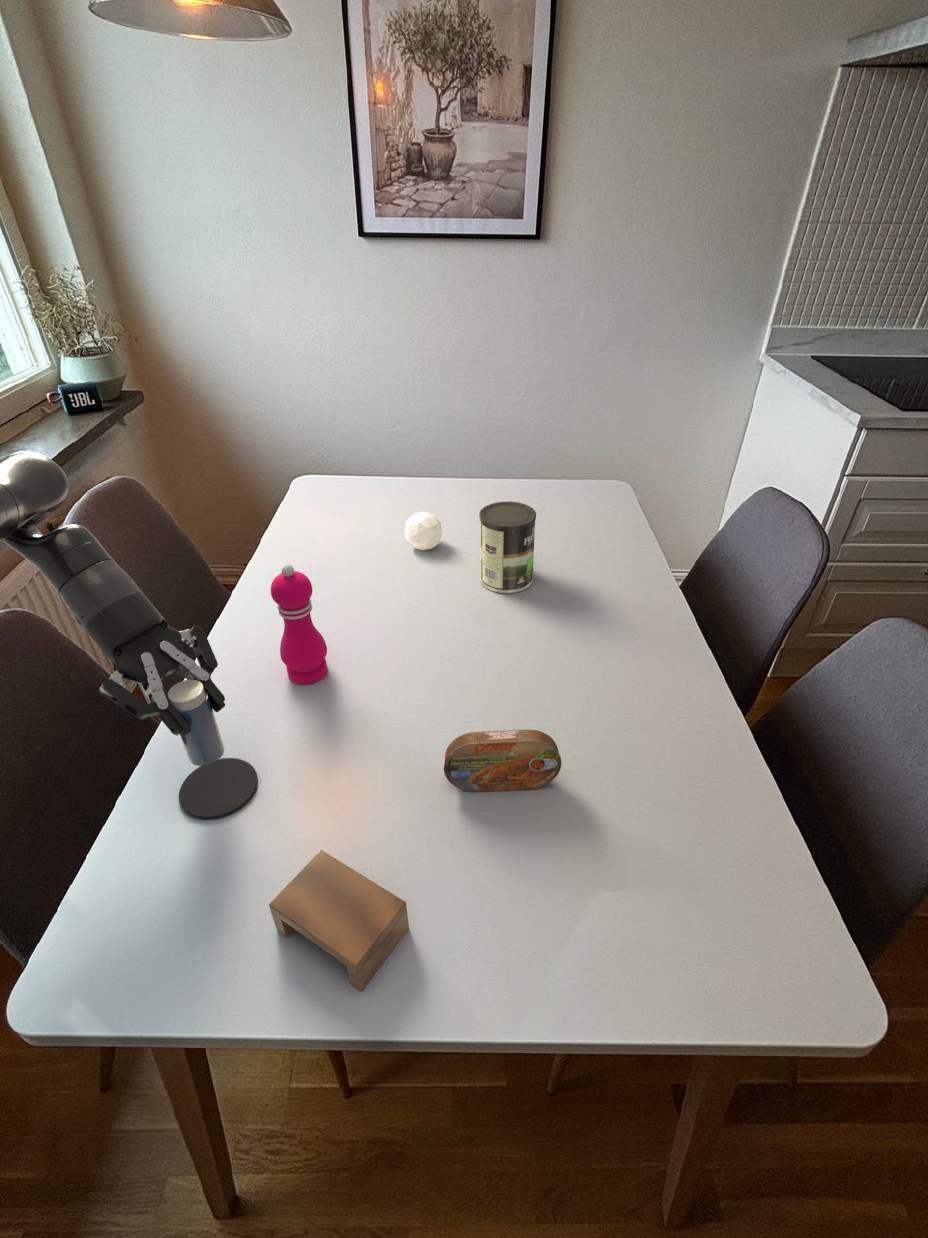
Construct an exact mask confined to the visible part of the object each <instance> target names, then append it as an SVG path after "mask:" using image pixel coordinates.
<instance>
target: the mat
mask: <svg viewBox="0 0 928 1238" xmlns="http://www.w3.org/2000/svg"><path fill="white" fill-rule="evenodd" d="M258 786H259V778H258V773H257V771H256V768H255V767H254V766H253V765H252V764H250V763H249V762H248V761H247V760H243V759H240V758H236V757H225V758H224V757H223V758H220V759H218V760H217V761H216V762H214V763H212V764H209V765H205V766H198V767H197V768H196V769H194V770H193V771H192V772H191V773H190V774H188V775H187V777H185V779H184V780H183V781H182V784H181V785H180V788H179V792H178V801H179V805H180V806H181V809H182V810H183V811H184V812H185V814H187V815H189V816H190V817H192V818H193V819H197V820H203V821H211V820H218V819H222V818H226V817H228V816H231V815H232V814H234V813H237V812H239V810H241V809H243V808H244V807H245V806H246V805H248V803H250V801H251V800H252V799H253V797H254V796H255V794H256V792H257V789H258Z"/></svg>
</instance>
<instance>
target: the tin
mask: <svg viewBox="0 0 928 1238" xmlns="http://www.w3.org/2000/svg"><path fill="white" fill-rule="evenodd" d="M561 769H562V757H561V754H560V751H559V748H558V745H557V743H556V741H555V740H554V739H553V738H552V737H551V736H550V735H549V734H547V733H545V732H543V731H540V730H539V729H538V730H537V729H513V730H512V729H511V730H510V729H509V730H494V731H493V730H492V731H490V730H489V731H473V732H468V733H464V734H462V735H459V736H457V737H456V738H455V739H453V740H452V741H451V742H450V743H449V744H448V746H447V748H446V750H445V753H444V763H443V773H444V776H445V778H446V779H447V781H448V782H449V783H450V784H451V785H452V786H453V787H455V788H457V789H459V790H462V791H464V792H471V793H481V792H499V791H520V790H521V791H523V790H535V789H539V788H542V787H545V786H546V785H548V784H550V783H551V782H552V781H554V780H555V778H556V777H557V776H558V775H559V773H560V772H561Z"/></svg>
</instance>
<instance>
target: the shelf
mask: <svg viewBox="0 0 928 1238" xmlns="http://www.w3.org/2000/svg"><path fill="white" fill-rule="evenodd" d="M268 908H269V910H270V913H271V917H272V919H273V923H274V926H275V929H276V931H277V932H278V933H279V934H281V935H282V936H283V937H285V938H288V937H289V936H290V935H291V933H292V932H293V931H294V930H295V931H296V932H299V933H300V934H301V935H302V936H304V937H305V938H307V939H308V940H309V941H311V942H312V943H313V944H315V945H317V946H318V947H319V948H321V949H322V950H324V951H325V952H326V953H328V954H329V955H331V956H332V957H333V958H335V959H336V960H338V961H339V962H341V963H342V964H343V965H344V966H346V970H347V973H348V978H349V982H350V985H352V986H353V987H354V988H356V989H357V990H359V992H363V991H364V989H365V988H366V987H367V985H368V983H370V981H371V980H372V978H373V977H374V976H375V974H376V973H377V972H378V971H379V969H380V968H381V966H382V965H383V964H384V962H385V961H386V960H387V958H388V957H389V956H390V954H391V953H392V952H393V951H394V949H395V948H396V947H397V945H398V944H399V942H400V941H401V940H402V939H403V937H404V936H405V935H406V934H407V932H408V931H409V929H410V924H409V917H408V907H407V901H405V900H403V899H402V898H400V897H398V896H397V895H395V894H394V893H392V892H390V891H389V890H388V889H385V888H384V887H382V886H381V885H379V884H377V883H376V882H374V881H373V880H371V879H369V878H368V877H367V876H364V875H363V874H362V873H360V872H358V871H357V870H355V869H353V868H351V867H350V866H348V865H347V864H346V863H343V862H342V861H340V860H339V859H337V858H335V857H334V856H332V855H331V854H329V853H328V852H326V851H324V850H322V849H320V850H319V851H318V852H317V853H316V854H315V855H314V856H313V857H312V858H311V860H310V861H309V862H307V864H306V865H305V866H303V868H302V869H301V870H300V871H299V872H298V873H297V874H296V875H295V876H294V877H293V879H291V881H289V883H288V884H287V885H286V886H285V887H284V888H283V889H282V890H281V891H280V892H279V893H278V894H277V895H276V896H275V897H274V898H273V899H272V900H271V902H269V903H268Z"/></svg>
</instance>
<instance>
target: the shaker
mask: <svg viewBox="0 0 928 1238" xmlns="http://www.w3.org/2000/svg"><path fill="white" fill-rule="evenodd" d="M167 698H168V700H169V701H168V702H169V703H168V705H169V707H171V706H173V707H174V708H175V709H176V711H177V712H178V713H179V714H180V715H181V717H182V718H183V719H184V720H185V721H186V723H187V724H188V725H189V726H190V728H191V730H192V731H191V732H190V733H189V734H187V735H186V736H184V737H182V736H181V735H180V734H179V737H180V739H181V742H182V745H183V747H184V751H185V753H186V755H187V759H188V761H189V762H190V763H191V764H192V765H194V766H198V767H200V766H205V765H209V764H212V763H214V762H216V761H217V760H218V759H222V757H223V755H224V753H225V745H224V741H223V738H222V735H221V732H220V728H219V726H218V723H217V720H216V716H215V713H214V712H215V711H214V710H213V709H212V706H211V703H210V700H209V697H208V694H207V692H206V691H205V690H204V687H203V684H202V683H201V682H200V681H197V680H187V679H185V680H182V681H179V682H176V683H174V684H173V686H171V687H170V689H169V690H168V691H167Z"/></svg>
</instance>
